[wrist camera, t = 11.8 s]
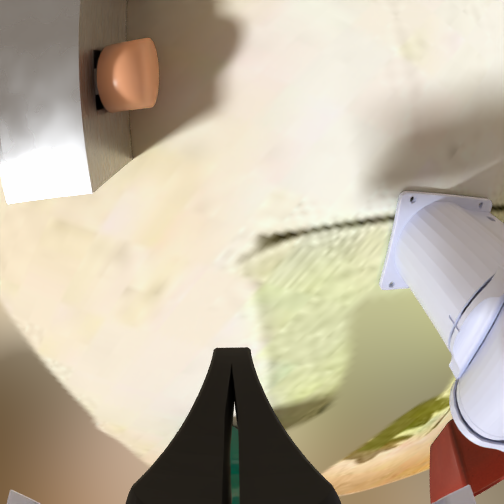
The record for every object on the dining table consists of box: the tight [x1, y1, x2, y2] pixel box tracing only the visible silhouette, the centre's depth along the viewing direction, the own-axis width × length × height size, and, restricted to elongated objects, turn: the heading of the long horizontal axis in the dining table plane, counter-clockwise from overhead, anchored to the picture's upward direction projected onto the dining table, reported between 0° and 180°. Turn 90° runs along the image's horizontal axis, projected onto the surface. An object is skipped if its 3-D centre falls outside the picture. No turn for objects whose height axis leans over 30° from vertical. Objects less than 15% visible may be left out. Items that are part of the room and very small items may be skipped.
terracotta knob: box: [94, 38, 159, 113], centre depth 12 cm, size 7×4×4 cm, turn 90°
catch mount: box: [0, 0, 133, 204], centre depth 10 cm, size 6×18×6 cm, turn 0°
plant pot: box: [430, 420, 504, 503], centre depth 36 cm, size 19×19×17 cm
